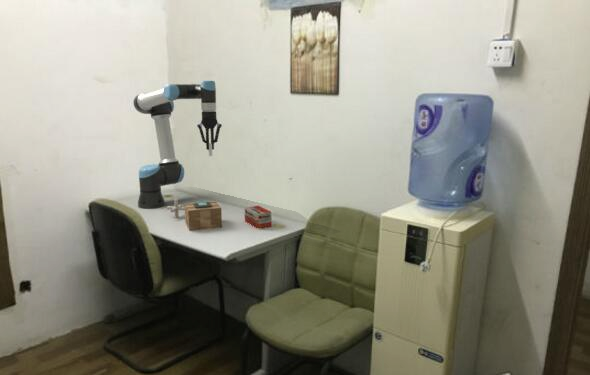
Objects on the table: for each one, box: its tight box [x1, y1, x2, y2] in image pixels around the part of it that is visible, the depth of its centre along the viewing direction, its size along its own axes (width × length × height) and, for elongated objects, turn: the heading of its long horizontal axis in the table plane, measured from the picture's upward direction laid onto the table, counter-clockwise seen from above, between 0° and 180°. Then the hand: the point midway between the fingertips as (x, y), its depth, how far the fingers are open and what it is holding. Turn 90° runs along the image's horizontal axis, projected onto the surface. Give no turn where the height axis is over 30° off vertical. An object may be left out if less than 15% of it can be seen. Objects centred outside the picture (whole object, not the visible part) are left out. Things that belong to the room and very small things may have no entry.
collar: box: [192, 201, 212, 209], centre depth 228 cm, size 8×8×1 cm
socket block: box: [184, 200, 223, 231], centre depth 229 cm, size 14×16×10 cm
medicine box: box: [244, 205, 272, 229], centre depth 231 cm, size 15×8×8 cm, turn 32°
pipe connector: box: [166, 198, 185, 219], centre depth 241 cm, size 10×10×10 cm
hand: (210, 155), depth 242 cm, fingers closed
